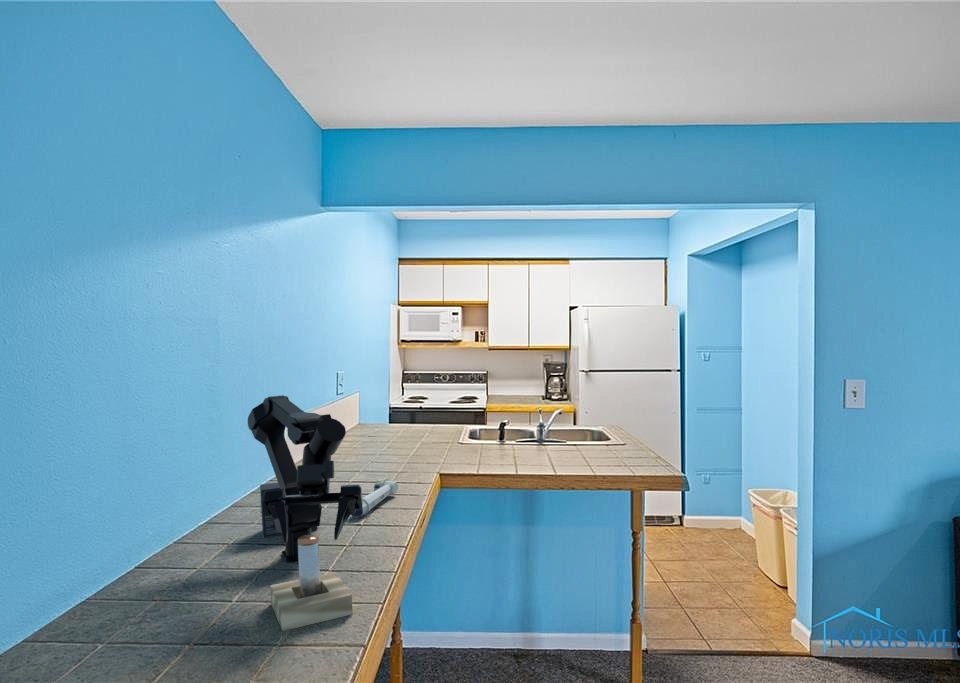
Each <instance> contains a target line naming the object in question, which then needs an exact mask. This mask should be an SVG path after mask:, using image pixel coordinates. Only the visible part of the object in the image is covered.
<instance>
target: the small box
mask: <svg viewBox="0 0 960 683" xmlns="http://www.w3.org/2000/svg"><path fill="white" fill-rule="evenodd" d="M259 486H260V487H259V488H260V509H261V510H260V511H261V526H262V537H263V538H264V539H266V538H271V537H272V538H273V537H279V535H280V536H283V534H282V533H280V532H279V531H277V530H276V527H275V519H274V518H272V516H269V515H266V512H265V509H264V507H263V504H262V497H263V493H264V492H265V491H266V490H273V489H280V486H279V483H278V481H277V482H272V483H271V482H270V483H263V484H260V485H259ZM318 529H319V528H318V527H317V526H316V527H312V528H311V532H312V531H317V530H318Z"/></svg>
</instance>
